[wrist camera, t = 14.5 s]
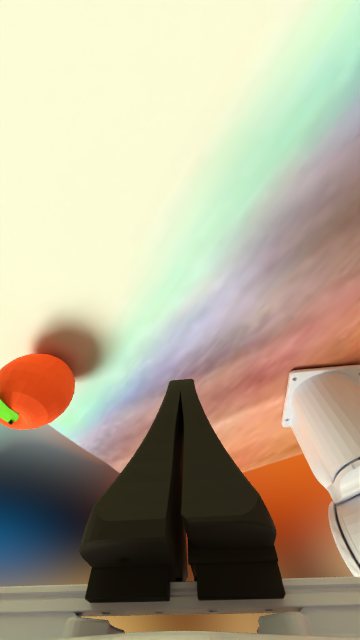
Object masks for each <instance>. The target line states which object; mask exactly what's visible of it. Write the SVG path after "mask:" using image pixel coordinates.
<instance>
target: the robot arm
mask: <svg viewBox="0 0 360 640" xmlns="http://www.w3.org/2000/svg"><path fill="white" fill-rule="evenodd" d="M282 426H283V427H291V428H292V430H293V432H294V435H295V437H296V439H297V441H298V443H299V445H300V447H301V449H302V451H303V453H304V455H305V457H306V460H307V462H308V464H309V466H310V468H311V470H312V472H313V474H314V475H315V477H316V478H317V480H318V481H319V482H320V483H321V484H322V485H323V486H324V487H325V488H326V489H327V490H328V491H329V493H330V495H331V497H332V499H333V501H332V502H331V503H330V505H329V509H328V514H329V521H330V527H331V531H332V534H333V537H334V540H335V543H336V545H337V547H338V549H339V552H340V553H341V556H342V557H343V559H344V561H345V563H346V565H347V566H348V568H349V569H350V571H351V573H352V574H353V575H354V577H333V578H331V577H330V578H297V579H296V578H295V579H282V578H281V574H280V570H279V567H278V563H277V562H278V558H277V554H276V550H275V546H274V542H275V538H276V529H275V526H274V523H273V520H272V518H271V516H270V514H269V512H268V510H267V508H266V506H265V504H264V502H263V500H262V499H261V497H260V495H259V493H258V492H257V491H256V490H255V488H254V487H253V486H252V485H251V484H250V482H249V481H248V480H247V479H246V477H245V476H244V475H243V473H242V472H241V471H240V469H239V468H238V467H237V465H236V464H235V463H234V461H233V460H232V458H231V457H230V455H229V454H228V453H227V451H226V450H225V448H224V447H223V445H222V444H221V442H220V440H219V439H218V437H217V435H216V434H215V432H214V430H213V428H212V427H211V425H210V423H209V421H208V419H207V417H206V415H205V413H204V411H203V408H202V406H201V404H200V401H199V399H198V396H197V393H196V390H195V385H194V380H193V379H185V380H173V381H170V382H169V385H168V389H167V392H166V395H165V397H164V400H163V402H162V405H161V407H160V409H159V412H158V414H157V416H156V418H155V420H154V422H153V424H152V426H151V428H150V430H149V431H148V433H147V435H146V437H145V438H144V440H143V442H142V443H141V445H140V446H139V448H138V449H137V451H136V453H135V454H134V456H133V457H132V458H131V460H130V461H129V463H128V464H127V465H126V467H125V468H124V469H123V471H122V472H121V473H120V475H119V476H118V477H117V479H116V480H115V481H114V482H113V483H112V485H111V486H110V487H109V488H108V490H106V492H105V493H104V494H103V495H102V496H101V497H100V499H99V500H98V501H97V502H96V503H95V505H94V507H93V510H92V512H91V515H90V517H89V520H88V522H87V525H86V528H85V532H84V535H83V539H82V542H81V546H80V550H79V552H80V554H81V556H82V558H84V560H85V561H86V562H88V564H90V566H91V567H92V570H91V574H90V578H89V583H88V584H86V585H50V586H15V587H0V640H360V365H349V366H338V367H326V368H314V369H303V370H293V371H291V372H290V374H289V380H288V386H287V392H286V399H285V405H284V411H283V417H282ZM186 533H187V537H188V563H189V564H190V565H191V568H192V572H193V575H194V581H191V582H185V581H186V579H187V577H188V572H187V552H186V551H187V550H186ZM233 613H234V614H235V613H278V614H272V615H266V616H261V617H259V620H258V622H259V628H258V630H257V634H254V633H234V632H210V631H154V632H134V633H125V632H124V630H121V629H118V628H115V627H113V626H112V625H110V623H109V621H108V620H100V619H91V618H82V617H81V616H130V615H177V614H178V615H180V614H233Z"/></svg>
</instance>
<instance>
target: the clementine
mask: <svg viewBox="0 0 360 640" xmlns="http://www.w3.org/2000/svg"><path fill="white" fill-rule="evenodd" d="M74 388H75V380H74V376H73V373H72V371H71V369H70V368H69V366H68V365H67V364H66V363H65V362H64V361H62V360H61V359H59V358H57V357H55V356H52V355H48V354H30V355H25V356H22V357H19V358H17V359H15V360H13V361H11V362H10V363H8V364H7V365H6V366H4V367H3V368H2V369H1V370H0V423H1V424H3V425H5V426H7V427H10V428H13V429H33V428H38V427H40V426H43V425H45V424H48V423H50V422H52V421H53V420H54V419H56V418H57V417H58V416H59V415H61V414H62V413H63V412H64V411H65V409H66V408H67V407H68V405H69V404H70V402H71V400H72V397H73V394H74Z"/></svg>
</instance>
